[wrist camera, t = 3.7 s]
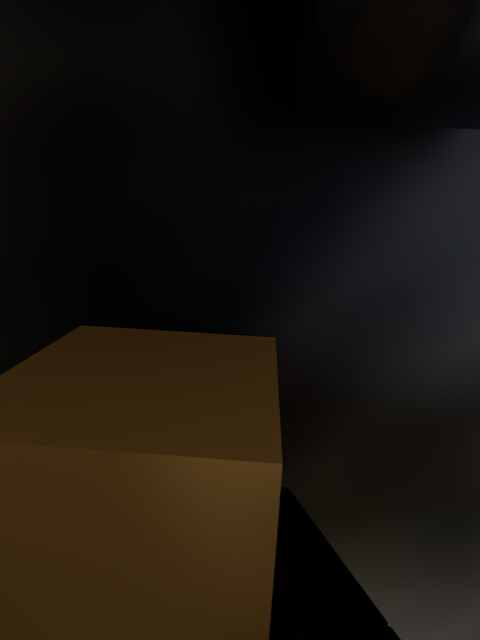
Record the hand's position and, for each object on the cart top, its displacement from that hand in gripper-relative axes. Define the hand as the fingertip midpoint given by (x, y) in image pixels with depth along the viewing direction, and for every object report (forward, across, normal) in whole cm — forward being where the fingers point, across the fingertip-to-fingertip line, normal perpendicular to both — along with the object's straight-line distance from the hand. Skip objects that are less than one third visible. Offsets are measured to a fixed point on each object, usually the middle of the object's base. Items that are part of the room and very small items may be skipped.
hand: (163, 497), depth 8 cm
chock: (+1, 0, 0) cm, 1 cm away
